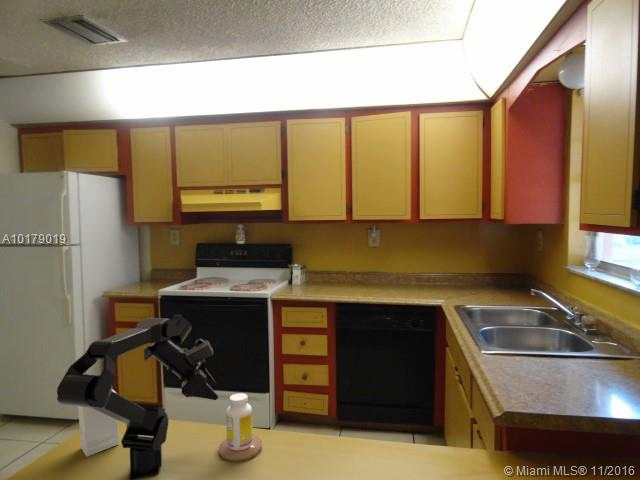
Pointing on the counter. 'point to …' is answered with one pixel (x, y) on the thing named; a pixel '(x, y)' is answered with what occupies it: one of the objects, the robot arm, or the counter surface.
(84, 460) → the counter surface
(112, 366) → the robot arm
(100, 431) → the skincare box
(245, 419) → the supplement bottle
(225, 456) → the terracotta round disc
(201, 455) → the counter surface
